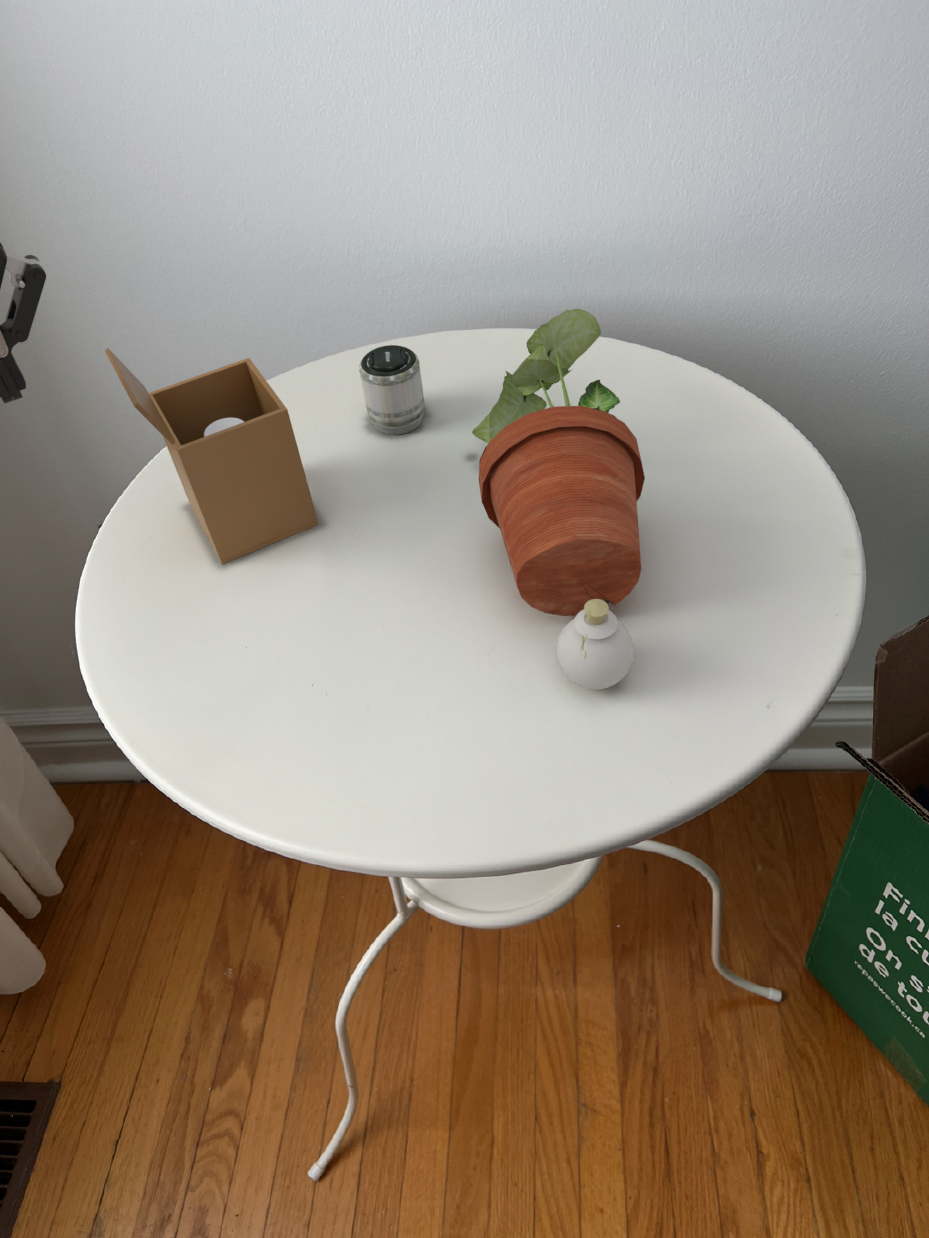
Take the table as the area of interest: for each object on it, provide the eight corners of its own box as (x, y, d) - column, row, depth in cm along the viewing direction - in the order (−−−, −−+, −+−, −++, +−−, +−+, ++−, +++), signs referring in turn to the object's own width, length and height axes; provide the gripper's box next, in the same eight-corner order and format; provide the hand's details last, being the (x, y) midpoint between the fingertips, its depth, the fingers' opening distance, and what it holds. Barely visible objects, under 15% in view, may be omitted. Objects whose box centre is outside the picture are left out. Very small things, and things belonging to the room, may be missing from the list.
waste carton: (222, 564, 87) (177, 450, 77) (191, 506, 93) (145, 393, 83) (318, 524, 90) (287, 409, 80) (282, 471, 96) (249, 357, 86)
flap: (175, 442, 77) (172, 445, 77) (144, 386, 83) (141, 389, 83) (137, 403, 73) (133, 406, 73) (107, 347, 79) (104, 350, 79)
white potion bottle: (640, 656, 75) (648, 570, 68) (615, 727, 71) (621, 643, 64) (569, 639, 77) (569, 553, 70) (541, 707, 73) (538, 623, 65)
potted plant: (668, 631, 79) (604, 374, 100) (676, 509, 67) (602, 246, 88) (488, 654, 80) (463, 395, 101) (465, 539, 68) (441, 272, 89)
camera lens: (372, 441, 98) (359, 377, 92) (367, 407, 102) (355, 345, 96) (430, 432, 98) (421, 368, 92) (423, 398, 102) (414, 335, 97)
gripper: (-14, 127, 64) (83, 347, 77) (-218, 180, 60) (-80, 402, 73) (4, 161, 59) (105, 390, 72) (-216, 221, 56) (-69, 450, 69)
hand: (11, 396), depth 73 cm, fingers closed
